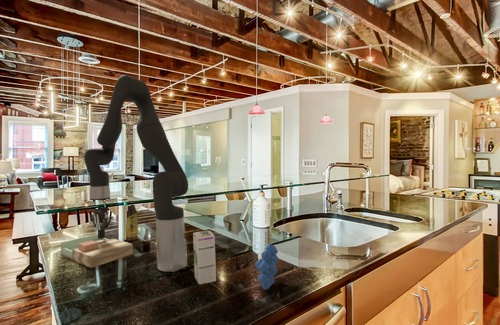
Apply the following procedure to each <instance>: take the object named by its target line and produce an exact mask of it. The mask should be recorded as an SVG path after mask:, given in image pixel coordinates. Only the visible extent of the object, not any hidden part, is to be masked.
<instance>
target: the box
mask: <svg viewBox="0 0 500 325" xmlns="http://www.w3.org/2000/svg"><path fill="white" fill-rule="evenodd" d="M91 240H93V241H97V240H104V241H106V240H110V239H109V238H107V237H105V238H103V239H99V238H98V233H95V234H91V235H86V236H82V237H78V238H73V239H69V240H66V241H65V240H64V241H61V242H60V254H61V256H63V257H65V258H68V259H70V260H72V261H74V260H73V254H72V249H76V248H78V244H79V243H83V242H87V241H91Z"/></svg>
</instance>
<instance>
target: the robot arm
mask: <svg viewBox="0 0 500 325" xmlns="http://www.w3.org/2000/svg"><path fill="white" fill-rule="evenodd" d="M126 101H127V102H130V103H133V104H135V105H136V108H137V110H138V112H139V117H138V120H137V122H136V133H137V135H138V138H139V141H140V144H141V146H142V147H143V149H145V151H146V152H147V153H148V154H150V156H152V157H153V158H154V159H155V160H156V161H157V162H158V163H159V164H160V165H161V166H162V168H163V169H164V171H159V172H157V173H155V174H154V176H153V179H152V197H153V198H152V199H153V207H154V208H153V209H154V212H155V221H156V223H155V225H156V226H155V227H156V230H155V231H156V255H157V256H156V258H157V260H156V261H157V263H156V264H157V270H159V271H161V272H172V273H174V272H177V271H179V270H182V269H183V268H186V267H188V256H187V252H188V250H187V247H188V246H187V239H186V238H185V215H184V214H185V213H184V209H183V207H181V206H176V205H175V204H173V198H177V197H182V196H184V195H186V194H187V193H188V190H189V181H188V178H187V175H186V173H185V171H184V169H183V167H182V166H181V163H180V162H179V160H178V159H177V157H176V154H175V153H174V151H173V149H172V148H173V147H172V146H171V144H170V142H169V139H168V138H167V134H166V132H165V130H164V127H163V124H162V122H161V121H160V118H159V116H158V113H157V111H156V109H155V105H154V101H153V98H152V95H151V92H150V89H149V87H148V85H147V83H146V82H144V80H142V79H140V78H139V79H138V78H136V77H134V76H131V75H128V74H122V75H121V76H119V78H117V81H116V82H115V84H114V88H113V91H112V95H111V98H110V102H109V106H108V110H107V113H106V117H105V119H104V122H103V125H102V126H101V129H100V131H99V133H98V135H97V139H96V142H97V143H98V145H100V146H101V147H100V148H98V147H97V148H89V149H87V150H86V151H85V153H84V156H83V162H84V165H85V167H86V169H87V170H86V171H87V173H88V175H89V176H88V177H89V201H90V200H93V201H95V200H106V199H110V200H111V189H110V188H111V187H110V175H109V172H107V171H104V170H102V168H101V166H107V165H109V164H111V162H112V161H113V159H114V157H115V156H114V155H115V149H116V143H117V142H118V139H119V138H120V136H121V133H122V131H123V119H122V109H123V106H124V104H125V102H126ZM92 210H93V211H92V212H93V214H91V215H90V219H91V222H92V224H93V227H94V228H96V230H97V234H98V238H99V239H103V238H106V229H108V228H109V226H110V223H111V221H112V218H113V217H112V216H109V215H108V214H109V212H108V210H109V208H98V209H92Z"/></svg>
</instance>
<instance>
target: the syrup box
mask: <svg viewBox="0 0 500 325" xmlns="http://www.w3.org/2000/svg"><path fill="white" fill-rule="evenodd" d="M192 235H193V236H192V239H193V240H192V242H193V246H192V247H193V264H194V265H193V267H194V268H193V269H194V279H195V280H196V282H197V284H198V285H203V284H204V283H205V284H208V283H213V282H217V263H216V242H215V240H216V237H215V234H214V233H213V232H212V231H211V230H202V231H196V232H193V233H192Z"/></svg>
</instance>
